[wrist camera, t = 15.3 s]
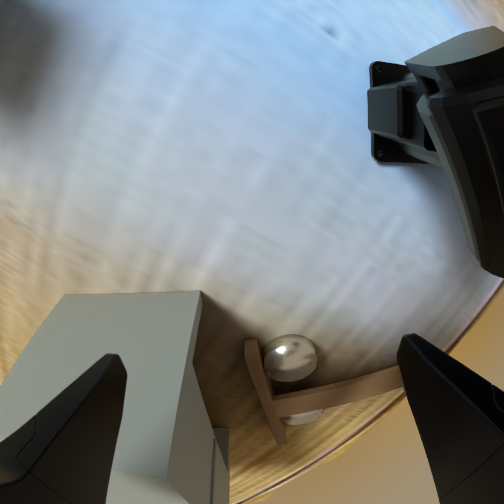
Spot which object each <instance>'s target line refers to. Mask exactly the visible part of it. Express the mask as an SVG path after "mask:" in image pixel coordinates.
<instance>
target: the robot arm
mask: <svg viewBox="0 0 504 504" xmlns="http://www.w3.org/2000/svg"><path fill="white" fill-rule="evenodd" d="M405 64H406V66H405V65H399V64H393V63H387V62H381V61H375V62H373V63H371V64H370V67H369V72H370V89H369V90H368V91H367V97H368V129H369V130H370V131H371V155H372V157H373V158H374V159H375V160H377V161H380V162H403V163H422V164H433V165H435V166H438V167H441V168H443V169H444V171H445V173H446V176H447V179H448V181H449V184H450V187H451V190H452V193H453V196H454V199H455V202H456V205H457V208H458V211H459V214H460V218H461V221H462V224H463V228H464V232H465V235H466V239H467V243H468V246H469V248H470V249H471V251H472V252H473V254H474V255H475V257H476V258H477V259H478V260H479V261H480V266H481V267H482V268H483V269H485V270H486V271H488V272H489V273H491V274H493V275H496V276H498V277H501V278H504V32H503V31H501V30H500V29H498V28H497V27H495V26H491V27H486V28H482V29H478V30H474V31H470V32H466V33H463V34H460V35H458V36H456V37H454V38H451V39H449V40H447V41H445V42H443V43H441V44H439V45H437V46H435V47H433V48H431V49H429V50H427V51H425V52H423V53H421V54H419V55H417V56H415V57H413V58H411V59H409V60H407V61H405ZM376 66H378V67H379V68H380V72H377V71H376V69H375V67H376ZM379 150H381V152H382V154H381V156H380V157H378V156H377V152H378V151H379ZM397 361H398V365H399V369H400V372H401V376H402V380H403V384H404V388H405V392H406V396H407V399H408V402H409V405H410V407H411V411H412V413H413V416H414V419H415V422H416V425H417V428H418V431H419V434H420V437H421V440H422V442H423V446H424V449H425V452H426V455H427V458H428V462H429V465H430V469H431V472H432V475H433V479H434V483H435V486H436V489H437V493H438V497H439V502H440V504H504V392H503V391H502V390H501V389H499V388H498V387H496V386H495V385H492V384H491V383H490V382H489V381H487V380H486V379H484V378H482V377H481V376H480V375H478V374H477V373H475V372H473V371H472V370H470V369H469V368H468V367H466V366H464V365H463V364H462V363H460V362H458V361H457V360H455V359H454V358H452V357H451V356H449V355H448V354H446V353H445V352H443V351H442V350H440V349H439V348H437V347H436V346H434V345H433V344H431V343H429V342H428V341H426V340H425V339H423V338H422V337H420V336H419V335H417V334H415V333H412V334H407V335H404V336H403V337H402V339H401V342H400V346H399V349H398V352H397ZM126 384H127V371H126V368H125V366H124V364H123V362H122V360H121V357H120V356H119V355H118V354H115V353H107V354H105V355H104V356H103V357H101V358H100V359H99V360H98V361H97V362H95V363H94V364H93V365H92V366H91V367H90V368H88V369H87V370H86V371H85V372H84V373H83V374H81V375H80V376H79V377H78V378H77V379H76V380H74V381H73V382H72V383H71V384H70V385H69V386H67V387H66V388H65V389H64V390H63V391H62V392H60V393H59V394H58V395H57V396H56V397H55V398H54V399H52V400H51V401H50V402H49V403H48V404H47V405H45V406H44V407H43V408H42V409H41V410H40V411H39V412H37V413H36V415H34V416H33V417H32V418H30V419H29V420H28V421H27V422H26V423H25V424H23V425H22V426H21V427H20V428H19V429H17V430H16V431H15V432H13V433H12V434H11V435H9V436H8V437H7V438H5V439H4V440H2V441H1V442H0V504H106V498H107V492H108V486H109V480H110V474H111V469H112V464H113V459H114V454H115V449H116V444H117V439H118V434H119V430H120V425H121V421H122V416H123V408H124V400H125V392H126Z"/></svg>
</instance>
